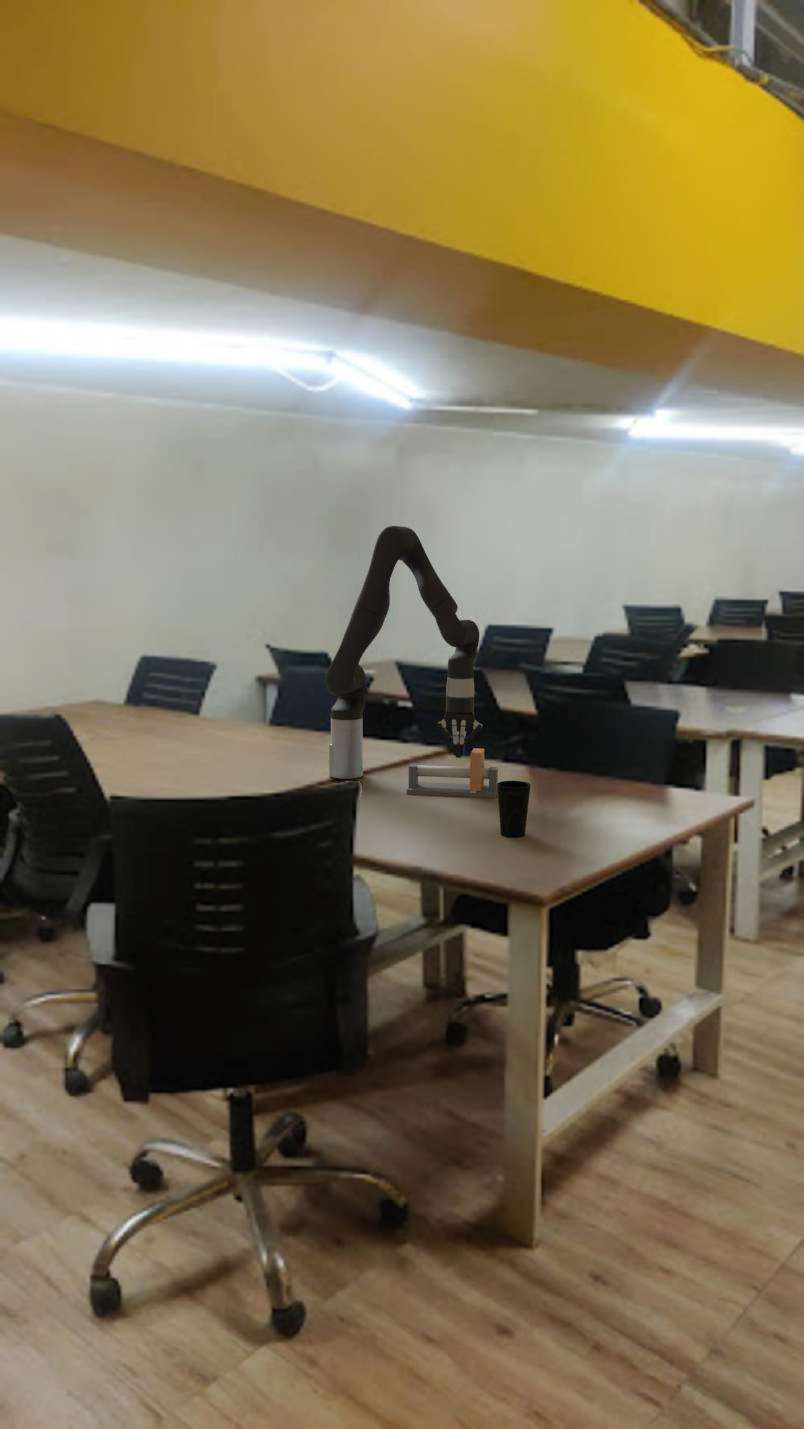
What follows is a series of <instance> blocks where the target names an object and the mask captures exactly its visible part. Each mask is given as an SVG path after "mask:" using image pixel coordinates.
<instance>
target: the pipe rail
mask: <svg viewBox="0 0 804 1429" xmlns="http://www.w3.org/2000/svg"><path fill="white" fill-rule="evenodd" d="M498 770H499V767H498V766H489V767H484V768H482V779H484V780H488V784H484V785H483V787H482V790H481V791H470V783H451V782H449V783H448V782H429V781H427V782H426V781H419V777H433V778H452V779H454V778H455V779H456V778H457V779H470V766H450V765H449V766H447V765H425V764H424V765H422V764H421V765H419V763H410V764H409V765H408V787H407V789H406V795H420V796H421V795H422V796H444V797H465V798H466V797H467V798H468V797H469V798H488V799H489V798H490V799H491V798H492V799H495V798H496V797H497V796H498V788H497V784H498V783H499V782H498V779H499V777H498V774H499V772H498Z"/></svg>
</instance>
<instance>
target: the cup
mask: <svg viewBox="0 0 804 1429" xmlns="http://www.w3.org/2000/svg"><path fill="white" fill-rule="evenodd" d="M531 787H532V786H531V784H530V782H527V781H522V780H502V781H499V782H498V784H497V788H498V792H497V797H498V798H497V799H498V813H499V824H500V825H499V826H500V835H501V836H502V837H505V838H510V839H512V838H513V839H519V838H523V837H525V835H526V827H527V819H528V818H527V817H528V810H529V803H530V802H529V801H530V792H531Z"/></svg>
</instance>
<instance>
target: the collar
mask: <svg viewBox="0 0 804 1429" xmlns="http://www.w3.org/2000/svg"><path fill="white" fill-rule="evenodd" d="M469 761H470V762H469V765H470V766H469V767H470V778H469V784H470V791H481V790H482V787H483V785H485V779H482V768H485V749H484V748H475V747H474V748H473V749H472V751H471V752H470V754H469Z"/></svg>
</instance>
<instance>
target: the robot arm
mask: <svg viewBox="0 0 804 1429" xmlns="http://www.w3.org/2000/svg"><path fill="white" fill-rule="evenodd" d="M398 561H402V563H403V564H404V565H405V566H407V568H408V569H409V570H410V572H412V574H413V577H414V579H415V581H416V585H417V588H418V591H419V594H420V596H421V599H422V601H423V602H424V604H425V605H426V606H425V607H427V609H428V610H429V612H430V613H431V615H433V617H434V618H435V622H436V625H437V628H438V630H439V632H440V633H439V634H440V635H441V637H442V639H443V640H444V641H445V643H446V644H448V646H450V647H452V648H455V651H454V654H452V655H451V656H450V657H449V658H448V660H447V680H446V686H445V687H446V688H445V690H446V692H445V696H446V697H445V713H444V716H443V719H441V721H438V722H437V723H436V725H435V726H436V727H437V729H438V730H439V731H440V733H441V734H442V736H443V737H444V738H445V740H446V741H447V742H449V743H452V745H453V746H452V747H453V750H452V753H453V756H455V758H459V759H462V757H463V756H464V754H465V744H467V743H471V742H472V740H473V739H474V737H475V736H476V735H477V734H478V733H479V732H480V731H481V730H482V728H483V723H480V722H478V720H476V716H475V712H474V711H475V710H474V709H475V682H474V680H475V679H474V676H475V675H474V674H475V673H474V672H475V671H474V669H475V668H474V667H475V665H474V663H475V659H476V656H477V652H478V648H479V644H480V631H479V630H480V629H479V627H478V625H477V623H476V622H474V621H473V620H471V619H459V617H458V616H457V612H458V604H457V603H456V601H455V599H454V598H453V596H452V595H451V593H450V592H449V590H448V589H447V587H446V586H445V585H444V583H443V582H442V580H441V579H440V577H439V575H438V574H437V572H436V570H435V568H434V566H433V565H432V563H431V560H430V559H429V557H428V555H427V553H426V551H425V549H424V547H423V544H422V542H421V540H420V538H419V536H418V535H417V533H416V532H415V530H413V529H411V528H410V527H407V526H399V525H388V526H385V527H384V528H383V529H381V531H380V533H379V534H378V535H377V539H376V541H375V545H374V548H373V553H372V556H371V560H370V563H369V568H368V571H367V574H366V576H365V579H364V581H363V584H362V588H361V590H360V592H359V595H358V598H357V600H356V602H355V605H354V608H353V610H352V613H351V617H350V619H349V622H348V624H347V627H346V630H345V631H344V635H343V636H342V641H341V643H340V645H339V647H338V649H337V651H336V654H335V656H334V658H333V659H332V662H331V664H330V666H329V668H328V669H327V671H326V674H325V685H326V688H327V690H328V692H329V693H330V694H331V695H333V696H336V697H337V698H336V701H335V703H334V705H333V706H332V707H331V709H330V744H328V763H329V764H328V769H329V770H328V776H329V777H330V778H336V779H340V780H341V779H342V780H343V779H345V780H347V779H350V780H351V779H358V778H362V777H363V774H364V773H363V772H364V770H363V769H364V767H363V766H364V765H363V764H364V761H363V760H364V759H363V749H364V748H363V744H364V743H363V742H364V741H363V740H364V739H363V737H364V735H363V712H364V710H365V707H366V697H367V696H366V695H367V693H366V692H367V677H366V673H365V670H364V668H363V667H362V665H360V661H361V659H362V657H363V655H364V653H365V652H366V651H367V649H368V647H370V645H371V644H372V642H374V641H375V639H376V637H377V636H378V634H379V633H380V631H381V630H382V627H383V626H384V623H385V620H386V618H387V615H388V612H389V609H390V605H391V604H390V602H391V600H390V599H391V596H390V595H391V594H390V583H391V577H392V575H393V572H394V569H395V567H396V565H397V563H398ZM447 726H448V728H449V730H451V731H452V735H451V733H450V732H449V731H448V729H447V728H446V727H447ZM471 727H472V729H473V730H472V732H470V734H469V735H468V736H467V737H466V734H467V731H468V730H470V728H471Z"/></svg>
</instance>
